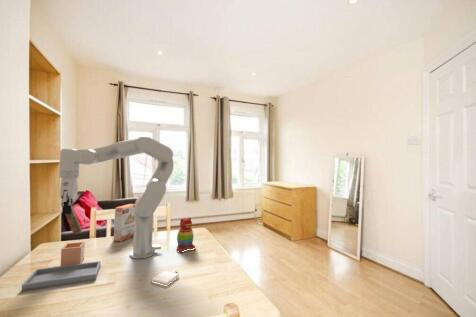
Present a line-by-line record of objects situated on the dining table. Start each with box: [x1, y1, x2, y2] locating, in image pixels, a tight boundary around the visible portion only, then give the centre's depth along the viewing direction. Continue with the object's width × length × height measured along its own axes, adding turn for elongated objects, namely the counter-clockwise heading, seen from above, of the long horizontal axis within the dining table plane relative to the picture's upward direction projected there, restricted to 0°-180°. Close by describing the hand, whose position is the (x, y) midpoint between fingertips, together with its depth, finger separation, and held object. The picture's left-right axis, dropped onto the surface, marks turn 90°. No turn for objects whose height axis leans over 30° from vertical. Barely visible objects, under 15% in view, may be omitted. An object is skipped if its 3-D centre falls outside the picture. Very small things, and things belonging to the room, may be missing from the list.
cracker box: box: [113, 203, 135, 243], centre depth 145 cm, size 14×6×21 cm, turn 168°
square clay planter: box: [60, 241, 86, 266], centre depth 108 cm, size 8×8×9 cm
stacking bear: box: [176, 217, 196, 253], centre depth 131 cm, size 11×10×18 cm
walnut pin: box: [60, 200, 83, 235], centre depth 107 cm, size 8×3×16 cm, turn 114°
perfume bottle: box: [151, 268, 180, 285], centre depth 98 cm, size 8×2×12 cm
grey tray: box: [21, 260, 102, 292], centre depth 95 cm, size 24×13×2 cm, turn 114°
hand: (67, 212), depth 107 cm, fingers closed on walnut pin, 3 cm apart
